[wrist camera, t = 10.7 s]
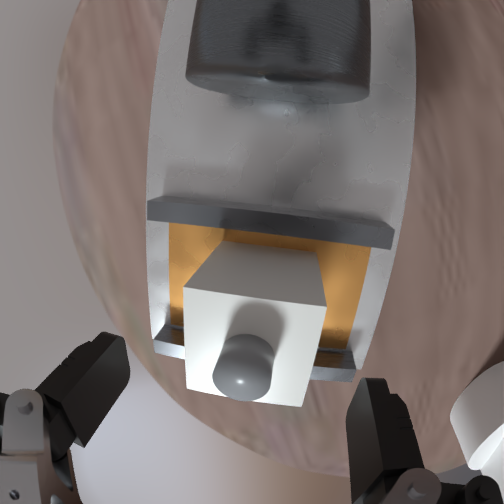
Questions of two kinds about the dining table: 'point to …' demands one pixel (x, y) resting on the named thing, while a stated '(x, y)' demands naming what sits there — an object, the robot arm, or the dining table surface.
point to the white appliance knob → (482, 423)
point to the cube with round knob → (253, 323)
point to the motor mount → (282, 152)
